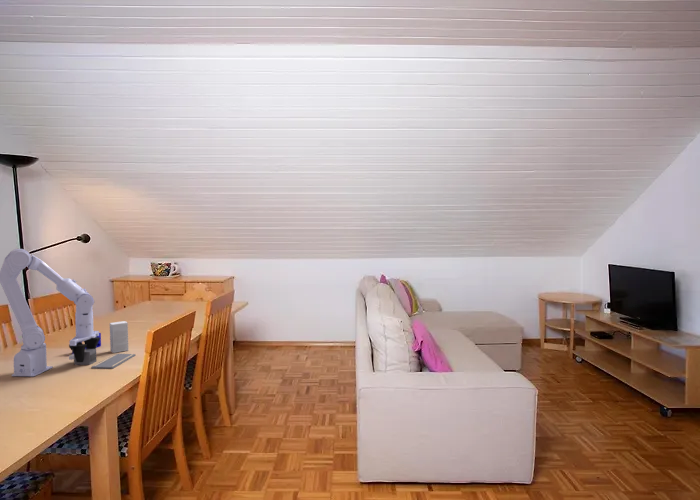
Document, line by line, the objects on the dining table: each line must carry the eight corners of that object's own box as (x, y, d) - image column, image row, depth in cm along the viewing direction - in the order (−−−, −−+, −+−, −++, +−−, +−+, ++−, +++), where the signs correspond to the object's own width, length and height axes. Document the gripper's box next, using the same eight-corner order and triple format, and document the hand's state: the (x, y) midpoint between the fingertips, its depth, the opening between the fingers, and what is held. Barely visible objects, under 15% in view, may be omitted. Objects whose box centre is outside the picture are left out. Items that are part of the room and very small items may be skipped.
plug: (90, 365, 159) (90, 352, 159) (67, 364, 159) (67, 351, 159) (96, 361, 163) (96, 348, 163) (74, 361, 163) (74, 348, 163)
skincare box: (125, 348, 181) (125, 320, 180) (128, 350, 178) (128, 322, 177) (109, 351, 177) (109, 322, 176) (112, 353, 174) (111, 324, 173)
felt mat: (112, 368, 155) (112, 366, 155) (91, 368, 155) (91, 366, 155) (135, 355, 171) (135, 353, 171) (115, 355, 171) (115, 353, 171)
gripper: (82, 328, 153) (83, 365, 154) (106, 320, 168) (106, 353, 168) (63, 328, 153) (64, 365, 154) (88, 319, 168) (89, 353, 169)
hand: (85, 359), depth 161 cm, fingers open, 6 cm apart
